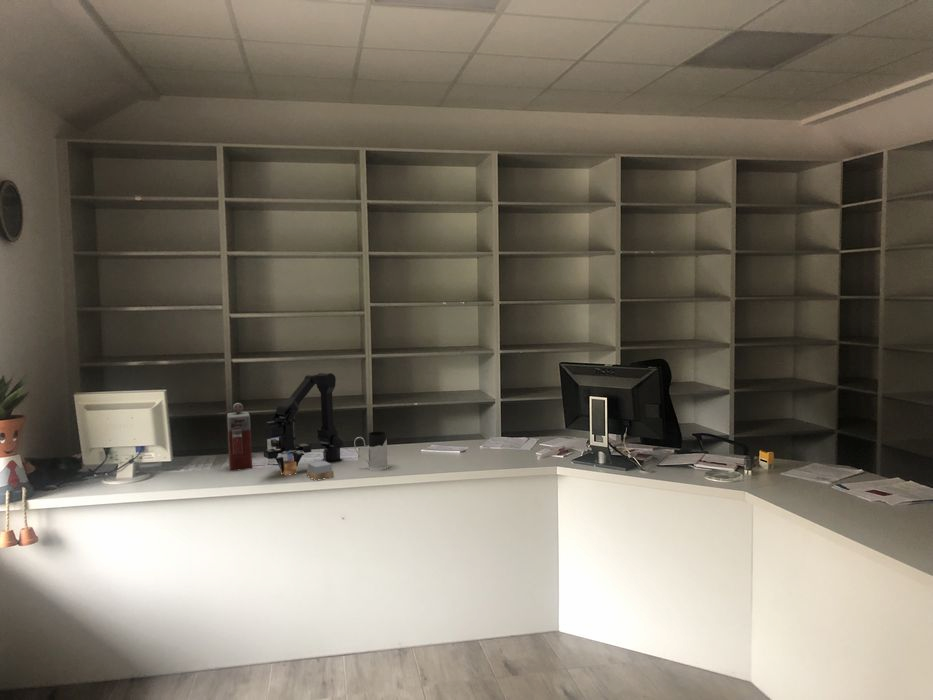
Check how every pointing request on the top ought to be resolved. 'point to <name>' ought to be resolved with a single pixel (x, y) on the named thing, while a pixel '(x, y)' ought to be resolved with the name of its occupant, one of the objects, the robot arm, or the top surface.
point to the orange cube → (289, 467)
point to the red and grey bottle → (239, 438)
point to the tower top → (320, 467)
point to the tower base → (320, 475)
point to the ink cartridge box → (285, 456)
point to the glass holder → (376, 450)
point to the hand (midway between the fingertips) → (288, 471)
